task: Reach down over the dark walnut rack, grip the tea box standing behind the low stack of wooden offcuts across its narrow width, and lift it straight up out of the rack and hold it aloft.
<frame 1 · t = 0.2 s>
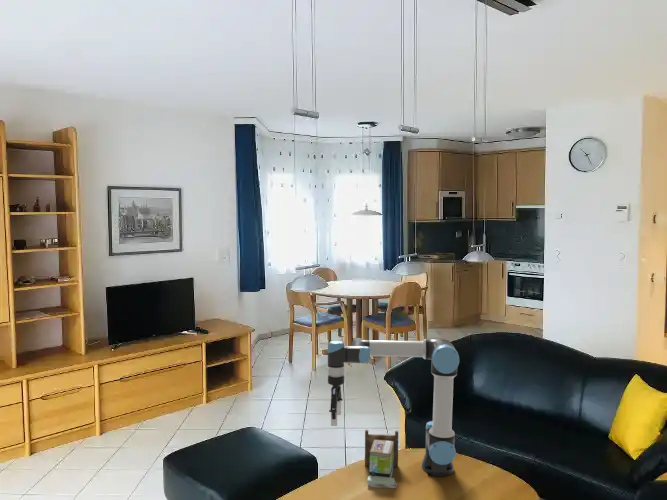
hand: (336, 420, 256), 28 cm above the table, tool pointing down, fingers open, 13 cm apart
tea box: (381, 476, 260), on the table
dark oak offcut: (381, 488, 250), on the table, touching grey board offcut
sage painted offcut: (381, 482, 250), point 2 cm above the table, touching grey board offcut
rack: (381, 466, 270), on the table
grey board offcut: (382, 485, 250), point 1 cm above the table, touching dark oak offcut, sage painted offcut
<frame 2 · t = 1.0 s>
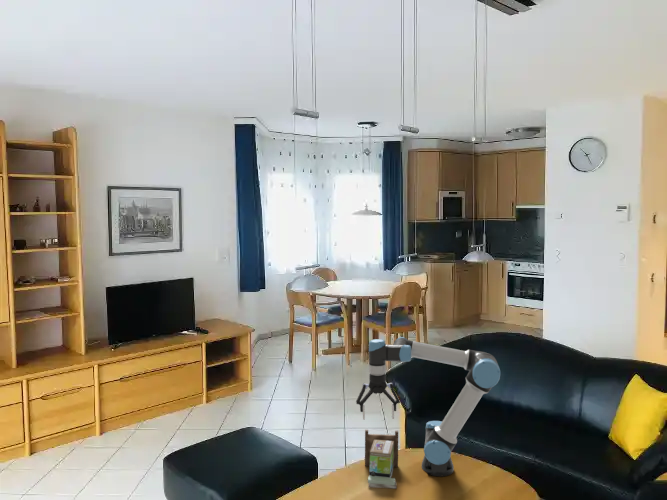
hand: (378, 418, 258), 28 cm above the table, tool pointing down, fingers open, 13 cm apart
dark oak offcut: (381, 488, 250), on the table
grey board offcut: (382, 485, 249), point 1 cm above the table, touching sage painted offcut
everything else where it was.
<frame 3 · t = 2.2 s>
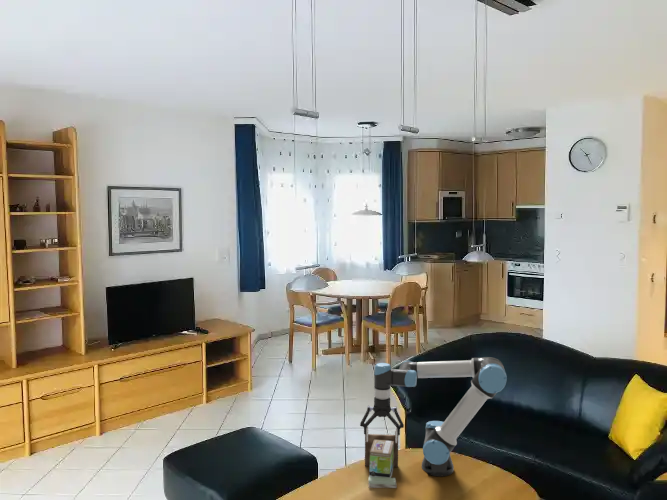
hand: (381, 441, 259), 17 cm above the table, tool pointing down, fingers open, 13 cm apart
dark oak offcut: (381, 488, 250), on the table, touching grey board offcut
grey board offcut: (382, 485, 249), point 1 cm above the table, touching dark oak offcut, sage painted offcut
everything else where it was.
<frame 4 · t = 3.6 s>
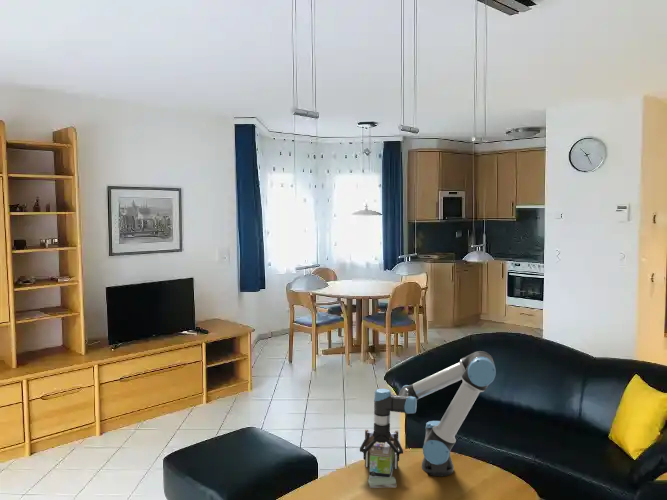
hand: (381, 466, 260), 4 cm above the table, tool pointing down, fingers open, 13 cm apart
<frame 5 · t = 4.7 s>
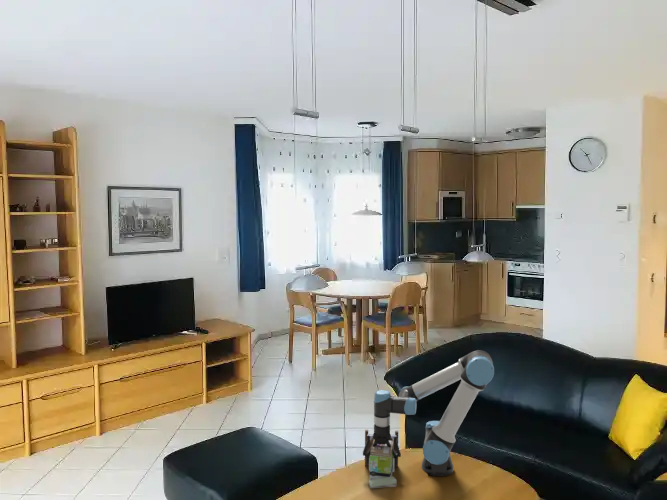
hand: (381, 470, 260), 3 cm above the table, tool pointing down, fingers closed on tea box, 10 cm apart
tea box: (381, 476, 260), on the table, touching gripper
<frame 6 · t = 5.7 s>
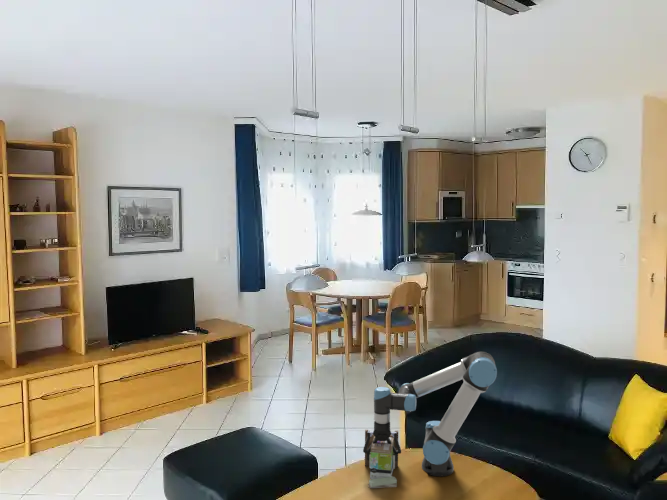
hand: (382, 467, 260), 4 cm above the table, tool pointing down, fingers closed on tea box, 10 cm apart
tea box: (382, 473, 260), point 1 cm above the table, touching gripper
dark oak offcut: (381, 488, 250), on the table
grey board offcut: (382, 485, 250), point 1 cm above the table, touching sage painted offcut
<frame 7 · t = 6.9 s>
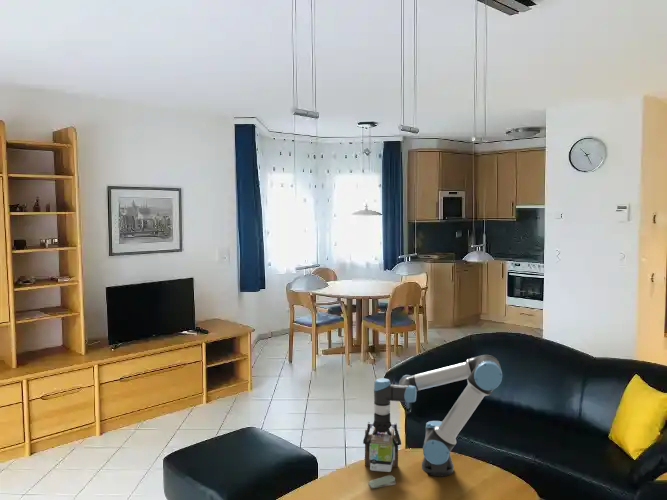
hand: (382, 458, 260), 9 cm above the table, tool pointing down, fingers closed on tea box, 10 cm apart
tea box: (382, 464, 260), point 5 cm above the table, touching gripper
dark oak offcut: (381, 488, 250), on the table, touching grey board offcut
sage painted offcut: (382, 482, 250), point 2 cm above the table, touching grey board offcut
grey board offcut: (382, 485, 251), resting on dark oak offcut, touching sage painted offcut
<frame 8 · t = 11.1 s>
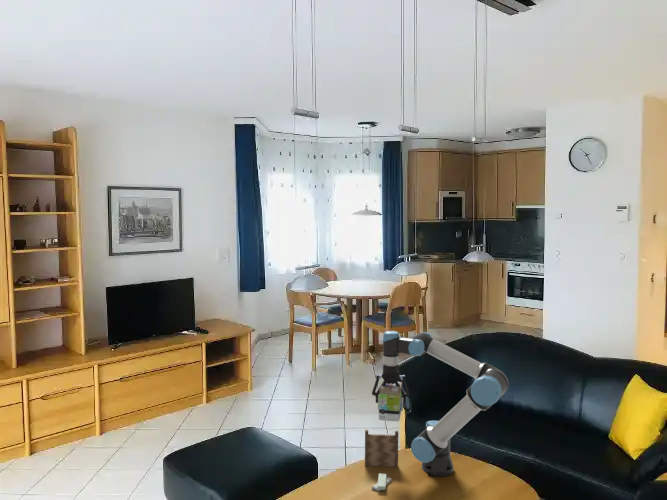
hand: (390, 409, 264), 30 cm above the table, tool pointing down, fingers closed on tea box, 10 cm apart
tea box: (390, 416, 264), point 27 cm above the table, touching gripper
at the end: the gripper is holding tea box; tea box point 26.7 cm above the table; sage painted offcut moved 1.1 cm from its start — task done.
